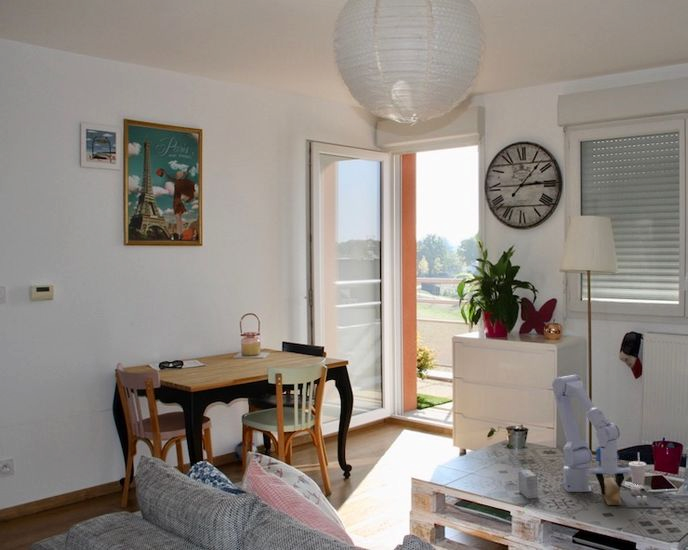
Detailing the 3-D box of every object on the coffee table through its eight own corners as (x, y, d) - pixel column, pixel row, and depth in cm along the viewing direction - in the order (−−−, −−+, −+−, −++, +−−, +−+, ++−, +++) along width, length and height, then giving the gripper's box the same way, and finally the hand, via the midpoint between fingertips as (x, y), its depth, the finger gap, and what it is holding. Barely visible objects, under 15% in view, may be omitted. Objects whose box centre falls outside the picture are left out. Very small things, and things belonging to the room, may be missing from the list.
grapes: (625, 470, 304) (624, 442, 304) (615, 474, 301) (613, 445, 300) (603, 464, 314) (601, 436, 314) (592, 467, 311) (591, 439, 310)
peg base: (627, 508, 263) (626, 500, 263) (617, 492, 279) (616, 485, 279) (662, 508, 262) (661, 499, 262) (650, 492, 277) (649, 484, 277)
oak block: (607, 504, 266) (607, 488, 266) (601, 493, 278) (600, 477, 278) (620, 504, 266) (619, 488, 265) (613, 493, 278) (612, 477, 277)
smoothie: (648, 491, 279) (647, 454, 279) (631, 491, 280) (629, 454, 280) (645, 485, 285) (644, 450, 285) (628, 485, 287) (626, 450, 286)
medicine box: (538, 498, 279) (537, 475, 278) (527, 499, 278) (526, 476, 277) (529, 491, 286) (528, 469, 286) (519, 492, 286) (518, 470, 285)
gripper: (590, 460, 268) (592, 497, 269) (632, 460, 266) (633, 497, 267) (586, 455, 275) (588, 490, 276) (627, 454, 273) (628, 490, 274)
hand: (610, 493), depth 272 cm, fingers closed on oak block, 4 cm apart
